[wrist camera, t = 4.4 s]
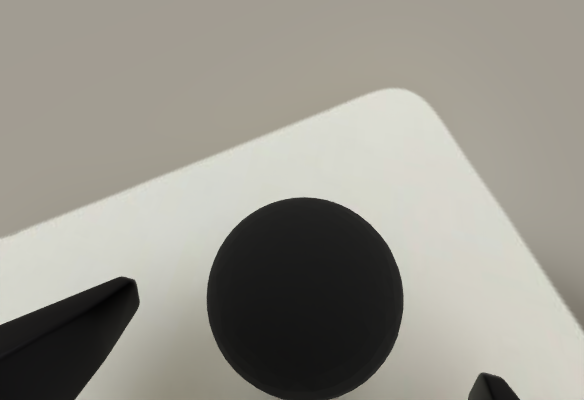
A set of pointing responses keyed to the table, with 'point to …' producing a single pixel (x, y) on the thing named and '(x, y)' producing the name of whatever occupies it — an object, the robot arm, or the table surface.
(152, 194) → the table surface
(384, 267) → the light bulb
